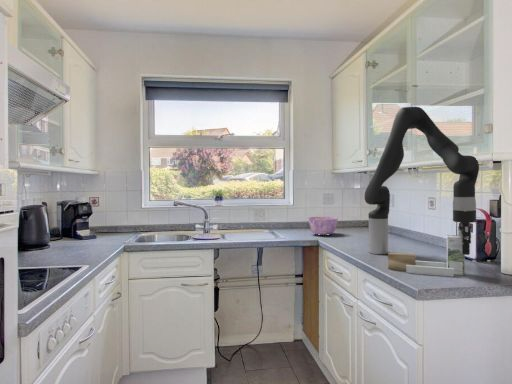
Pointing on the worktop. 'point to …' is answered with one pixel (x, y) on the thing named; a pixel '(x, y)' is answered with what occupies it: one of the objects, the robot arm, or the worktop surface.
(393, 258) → the block
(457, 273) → the syrup box
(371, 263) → the worktop surface
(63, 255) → the worktop surface
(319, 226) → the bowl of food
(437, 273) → the channel
